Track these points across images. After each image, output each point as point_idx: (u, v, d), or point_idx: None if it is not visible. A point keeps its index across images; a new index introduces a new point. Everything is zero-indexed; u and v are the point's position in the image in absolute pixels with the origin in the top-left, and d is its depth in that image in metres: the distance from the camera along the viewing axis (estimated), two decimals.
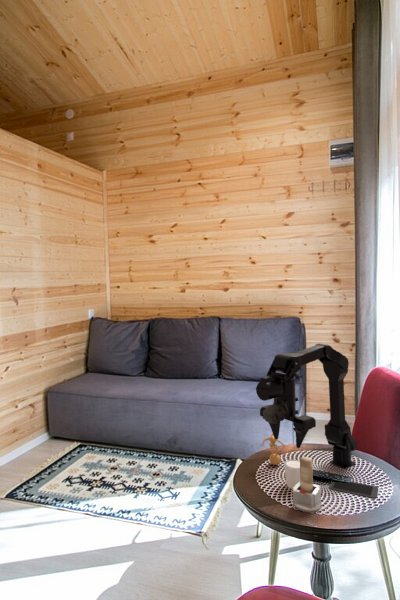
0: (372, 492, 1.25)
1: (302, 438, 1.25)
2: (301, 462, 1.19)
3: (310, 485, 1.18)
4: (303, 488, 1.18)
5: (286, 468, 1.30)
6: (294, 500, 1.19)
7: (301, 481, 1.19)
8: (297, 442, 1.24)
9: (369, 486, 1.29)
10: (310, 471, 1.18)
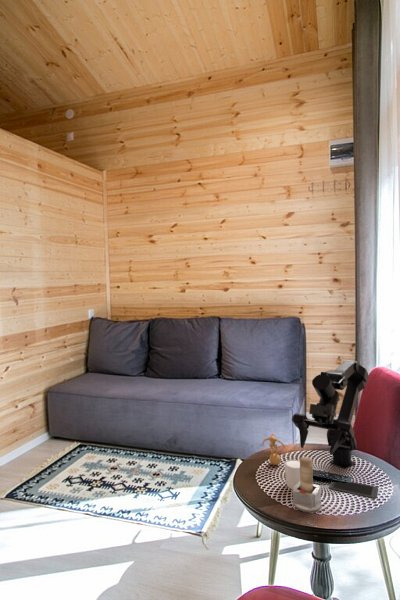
0: (372, 492, 1.25)
1: (337, 446, 1.24)
2: (301, 462, 1.19)
3: (310, 485, 1.18)
4: (303, 488, 1.18)
5: (286, 468, 1.30)
6: (294, 500, 1.19)
7: (301, 481, 1.19)
8: (332, 446, 1.23)
9: (369, 486, 1.29)
10: (310, 471, 1.18)
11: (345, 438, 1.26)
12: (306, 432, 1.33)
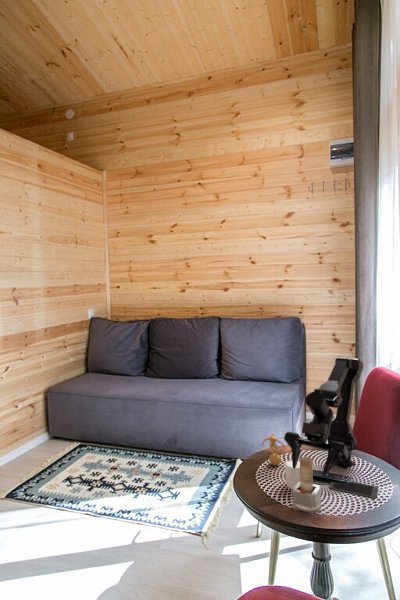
0: (372, 492, 1.25)
1: (330, 467, 1.19)
2: (301, 462, 1.19)
3: (310, 485, 1.18)
4: (303, 488, 1.18)
5: (286, 468, 1.30)
6: (294, 500, 1.19)
7: (301, 481, 1.19)
8: (326, 467, 1.18)
9: (369, 486, 1.29)
10: (310, 471, 1.18)
11: (339, 459, 1.21)
12: (298, 451, 1.28)
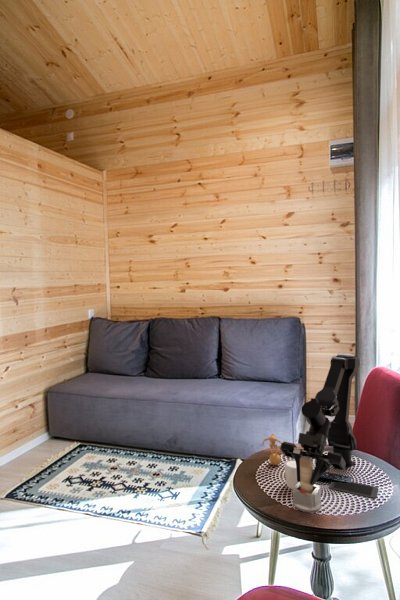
0: (372, 492, 1.25)
1: (318, 476, 1.19)
2: (301, 462, 1.19)
3: (310, 485, 1.18)
4: (303, 488, 1.18)
5: (286, 468, 1.30)
6: (294, 500, 1.19)
7: (301, 481, 1.19)
8: (313, 477, 1.18)
9: (369, 486, 1.29)
10: (310, 471, 1.18)
11: (327, 468, 1.20)
12: None
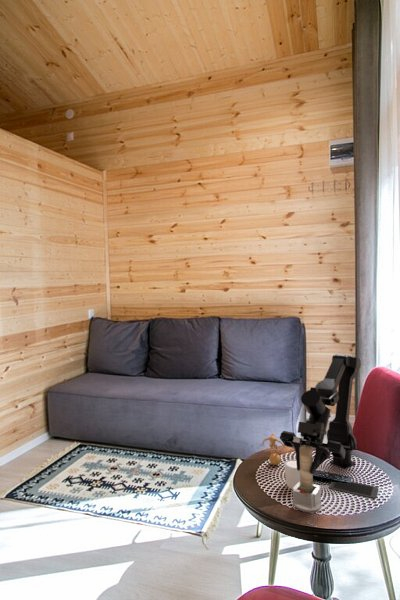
0: (372, 492, 1.25)
1: (318, 465, 1.19)
2: (301, 451, 1.18)
3: (309, 474, 1.18)
4: (303, 476, 1.18)
5: (286, 468, 1.30)
6: (294, 500, 1.19)
7: (301, 470, 1.19)
8: (313, 465, 1.18)
9: (369, 486, 1.29)
10: (310, 460, 1.18)
11: (327, 456, 1.20)
12: None
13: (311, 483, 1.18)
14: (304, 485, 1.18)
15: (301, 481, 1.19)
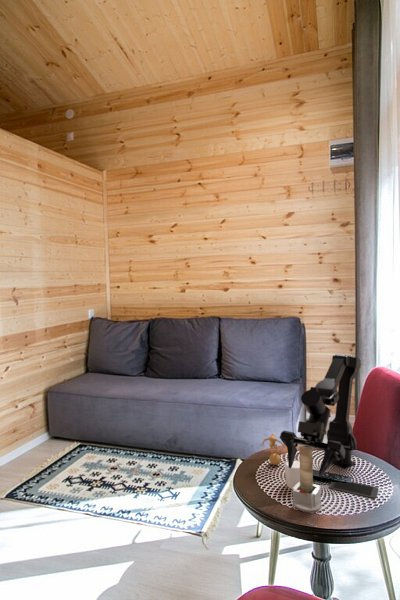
0: (372, 492, 1.25)
1: (326, 467, 1.17)
2: (301, 451, 1.18)
3: (309, 474, 1.18)
4: (303, 476, 1.18)
5: (286, 468, 1.30)
6: (294, 500, 1.19)
7: (301, 470, 1.19)
8: (322, 467, 1.16)
9: (370, 486, 1.29)
10: (310, 460, 1.18)
11: (335, 458, 1.18)
12: (295, 451, 1.25)
13: (311, 483, 1.18)
14: (304, 484, 1.18)
15: (301, 481, 1.19)
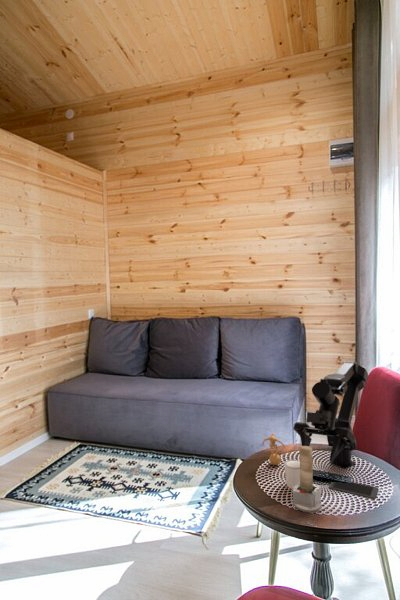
0: (372, 492, 1.25)
1: (337, 452, 1.24)
2: (301, 451, 1.18)
3: (309, 474, 1.18)
4: (303, 476, 1.18)
5: (286, 468, 1.30)
6: (294, 500, 1.19)
7: (301, 470, 1.19)
8: (332, 453, 1.23)
9: (370, 486, 1.29)
10: (310, 460, 1.18)
11: (345, 443, 1.25)
12: (309, 440, 1.33)
13: (311, 483, 1.18)
14: (304, 484, 1.18)
15: (301, 481, 1.19)
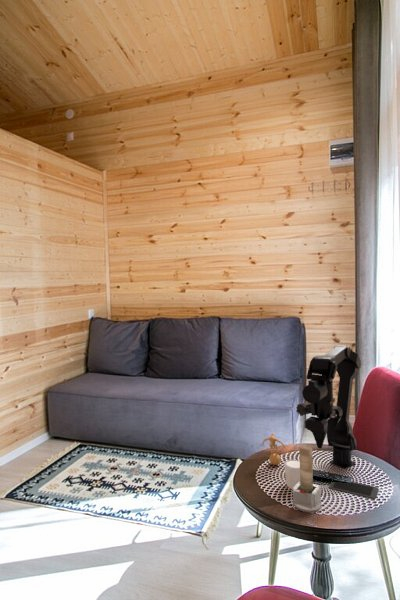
0: (372, 492, 1.25)
1: (320, 440, 1.27)
2: (301, 451, 1.18)
3: (309, 474, 1.18)
4: (303, 476, 1.18)
5: (286, 468, 1.30)
6: (294, 500, 1.19)
7: (301, 470, 1.19)
8: None
9: (370, 486, 1.28)
10: (310, 460, 1.18)
11: None
12: (333, 422, 1.35)
13: (311, 483, 1.18)
14: (304, 484, 1.18)
15: (301, 481, 1.19)
